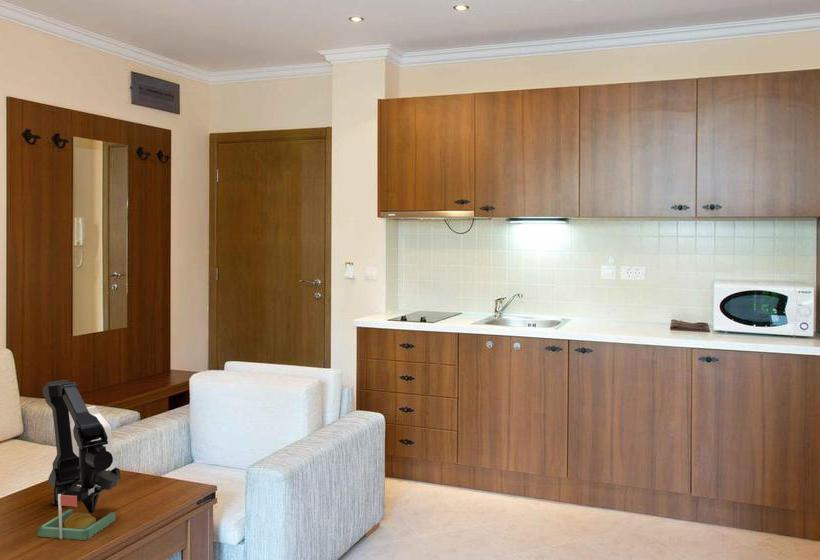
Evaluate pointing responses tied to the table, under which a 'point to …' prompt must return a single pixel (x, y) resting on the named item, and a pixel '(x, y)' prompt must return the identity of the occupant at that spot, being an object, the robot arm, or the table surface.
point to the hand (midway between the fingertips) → (91, 512)
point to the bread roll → (79, 521)
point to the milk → (109, 446)
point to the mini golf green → (80, 534)
